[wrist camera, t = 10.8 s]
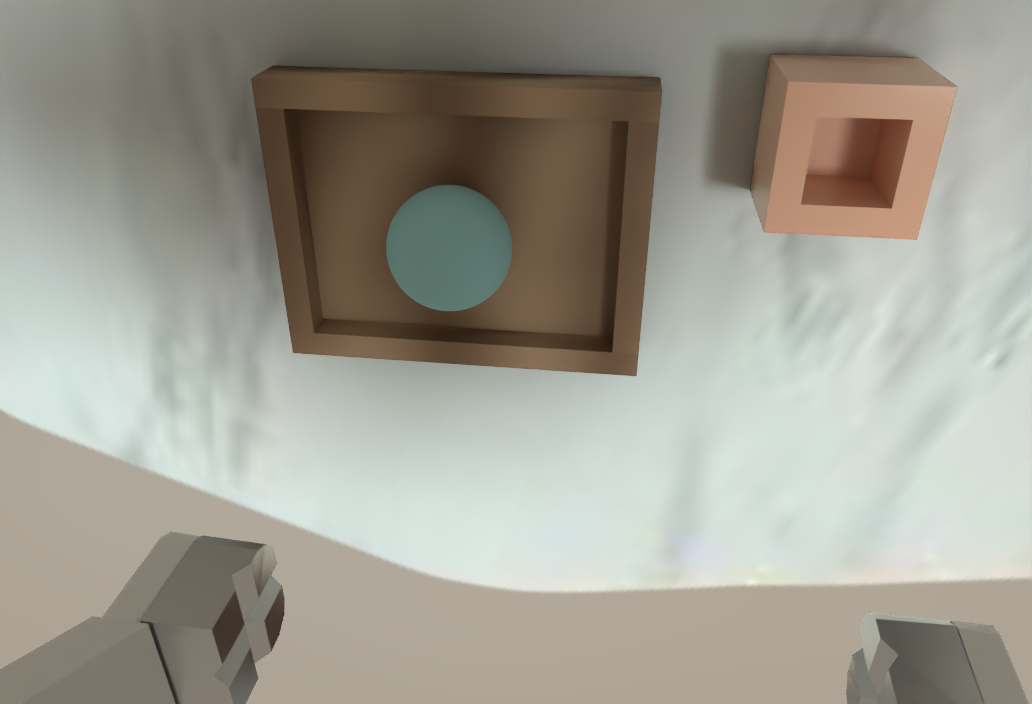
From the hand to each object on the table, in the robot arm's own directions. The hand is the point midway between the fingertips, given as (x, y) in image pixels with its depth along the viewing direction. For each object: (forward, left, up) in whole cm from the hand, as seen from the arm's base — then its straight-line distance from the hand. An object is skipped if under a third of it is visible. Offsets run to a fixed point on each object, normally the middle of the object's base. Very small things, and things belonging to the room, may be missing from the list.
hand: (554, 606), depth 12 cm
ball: (+5, +3, -22) cm, 22 cm away
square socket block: (-8, -1, -22) cm, 24 cm away
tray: (+5, +3, -22) cm, 23 cm away
